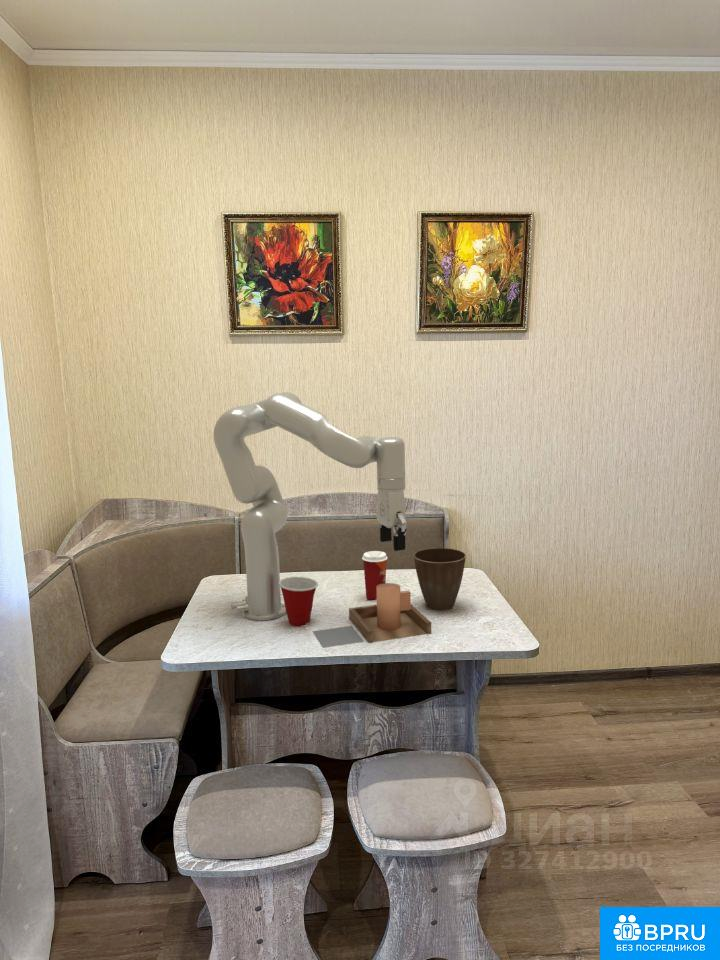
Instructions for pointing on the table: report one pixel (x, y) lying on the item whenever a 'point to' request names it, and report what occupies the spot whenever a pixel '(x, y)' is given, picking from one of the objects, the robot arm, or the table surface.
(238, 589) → the table surface
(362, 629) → the brown tray
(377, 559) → the paper cup
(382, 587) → the tan tapered cylinder
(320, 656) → the table surface
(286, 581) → the plastic cup
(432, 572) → the plant pot
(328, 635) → the coaster
